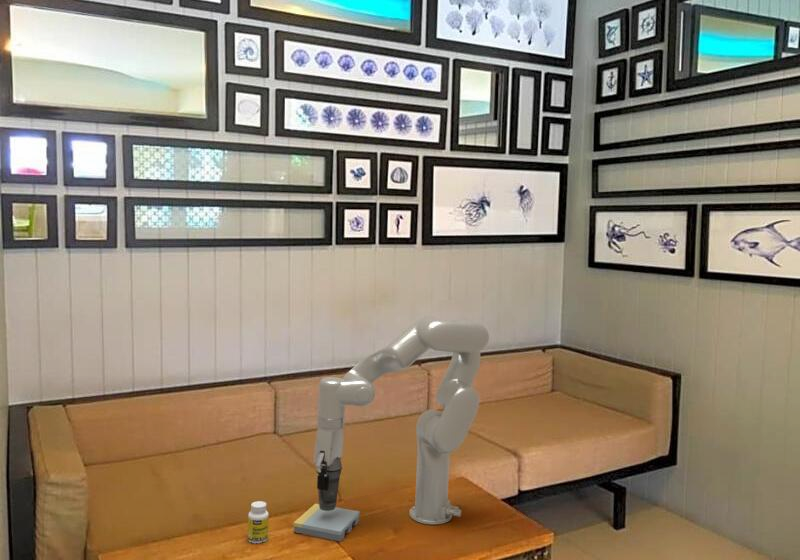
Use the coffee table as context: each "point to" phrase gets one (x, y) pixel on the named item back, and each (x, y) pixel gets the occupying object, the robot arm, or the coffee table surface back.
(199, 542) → the coffee table surface
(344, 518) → the plate
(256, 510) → the supplement bottle
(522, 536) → the coffee table surface
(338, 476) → the beverage cup
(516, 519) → the coffee table surface
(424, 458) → the robot arm
